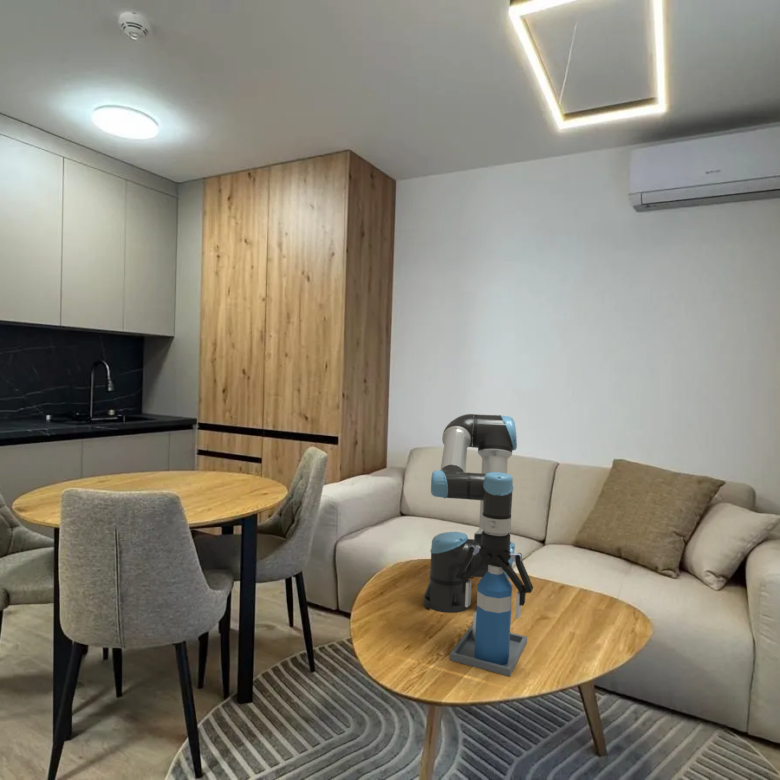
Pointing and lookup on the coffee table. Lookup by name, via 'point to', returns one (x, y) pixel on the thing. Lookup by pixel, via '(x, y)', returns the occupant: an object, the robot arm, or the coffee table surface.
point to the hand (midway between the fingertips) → (492, 611)
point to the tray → (466, 656)
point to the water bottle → (493, 617)
